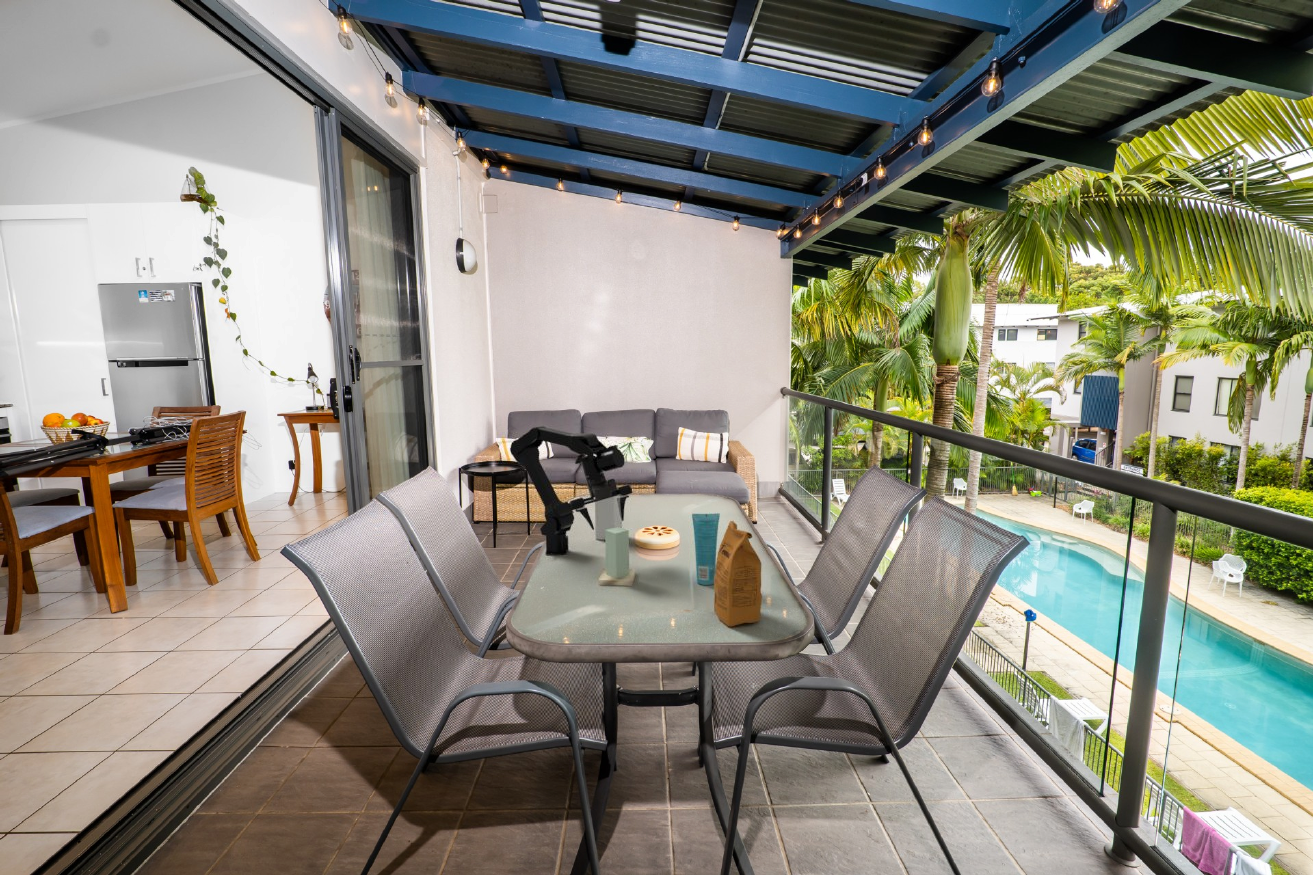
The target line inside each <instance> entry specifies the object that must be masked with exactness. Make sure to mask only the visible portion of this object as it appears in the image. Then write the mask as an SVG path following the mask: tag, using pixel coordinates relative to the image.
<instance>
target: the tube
mask: <svg viewBox="0 0 1313 875" xmlns="http://www.w3.org/2000/svg"><path fill="white" fill-rule="evenodd" d="M691 518H692V525H693V536H694V549H695V550H694V551H695V552H694V554H695V568H696V569H695V570H696V583H698V585H703V586H710V585H714V576H715V568H716V562H717V546H718V534H719V533H718V532H719V522H720V513H718V512H717V513H692V514H691Z"/></svg>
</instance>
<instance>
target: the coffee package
mask: <svg viewBox="0 0 1313 875" xmlns="http://www.w3.org/2000/svg"><path fill="white" fill-rule="evenodd" d="M750 539H753V535H752V533H751V532H748V531H745V530H740V529H738V525H737V523H736V522H734V520H730V521H729V523H728V525H727V528H726V531H725V533H724V535H723V537H722V539H721V542H720V545H719V548H718V552H717V555H716V567H715V576H714V584H713V586H714V587H713V588H714V598H713V607H714V608H713V610H714V612H715V613H716V614H715V615H716V616H717V618H718V620H719V621H720V622H722V623H724V625H726V626H727V627H735V626H738V625H742V624H751V623H752V624H753V623H757V622H760V621H761V608H762V598H763V595H762V591H761V590H762V561H761V559H760V558H759V556H758V553H757V552H756V550H755V549H754V547H753V545H752V544H751V542H750Z"/></svg>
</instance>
